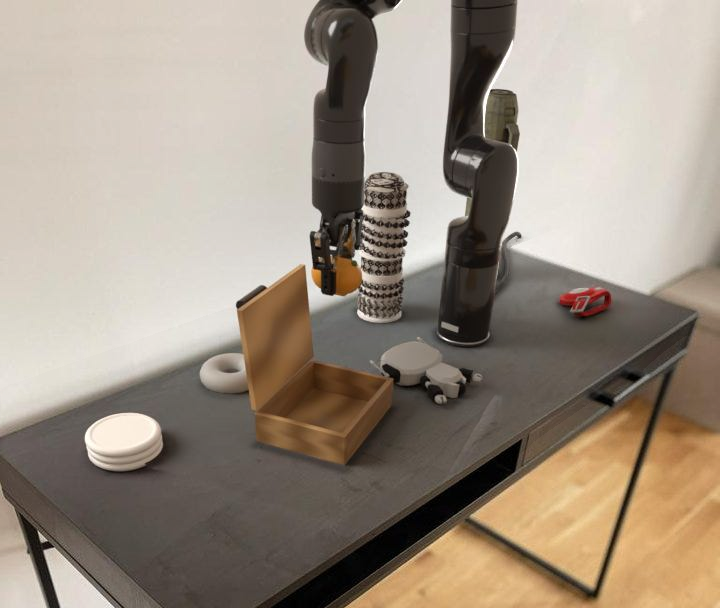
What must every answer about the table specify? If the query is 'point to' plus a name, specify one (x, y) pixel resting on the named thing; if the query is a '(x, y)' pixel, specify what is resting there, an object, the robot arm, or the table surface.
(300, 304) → the lid
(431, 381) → the robot toy
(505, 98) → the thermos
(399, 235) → the decorative candle
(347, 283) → the mango
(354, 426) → the wooden box
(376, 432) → the table surface
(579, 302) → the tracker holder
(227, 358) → the donut
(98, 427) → the coaster
